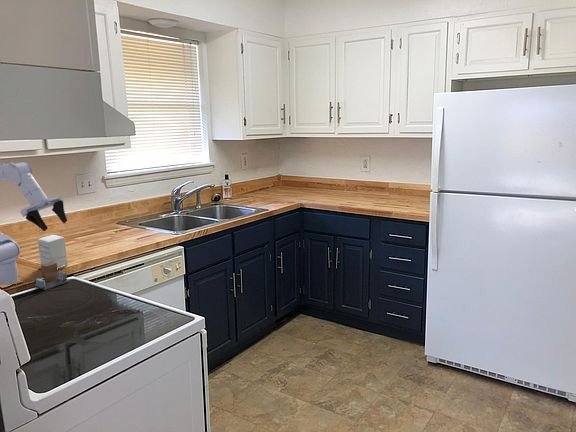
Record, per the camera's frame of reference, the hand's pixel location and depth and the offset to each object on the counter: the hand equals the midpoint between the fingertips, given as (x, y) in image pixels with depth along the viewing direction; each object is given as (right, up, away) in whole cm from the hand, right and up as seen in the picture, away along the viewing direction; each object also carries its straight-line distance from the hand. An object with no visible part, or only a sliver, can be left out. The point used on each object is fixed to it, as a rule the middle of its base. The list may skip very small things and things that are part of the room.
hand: (55, 225), depth 159 cm
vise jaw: (-11, -23, +12) cm, 28 cm away
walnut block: (-13, -21, +21) cm, 32 cm away
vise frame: (-9, -22, +15) cm, 29 cm away
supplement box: (-17, -18, +32) cm, 41 cm away
